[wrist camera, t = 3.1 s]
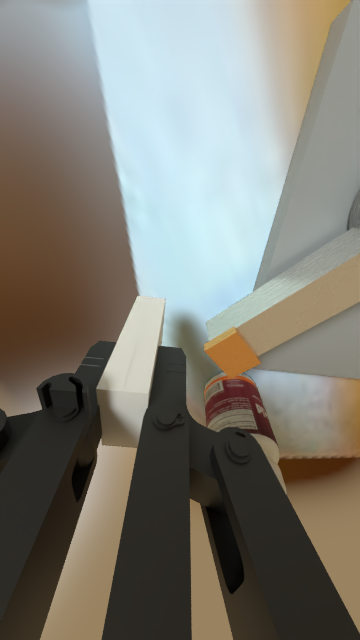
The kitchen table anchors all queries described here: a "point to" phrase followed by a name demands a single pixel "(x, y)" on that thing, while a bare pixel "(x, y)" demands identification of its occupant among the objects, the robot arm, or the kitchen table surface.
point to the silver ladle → (288, 303)
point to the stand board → (321, 202)
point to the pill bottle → (241, 413)
